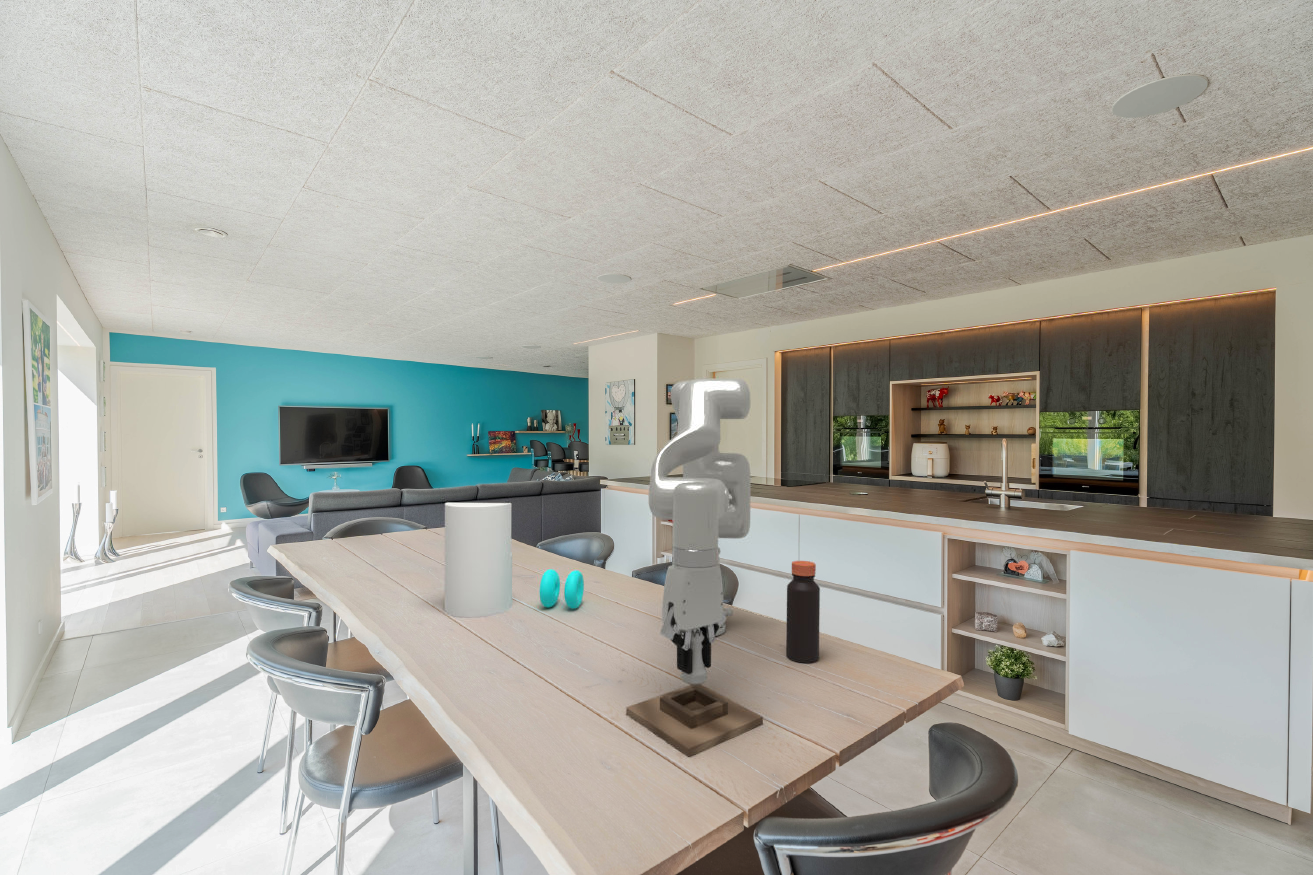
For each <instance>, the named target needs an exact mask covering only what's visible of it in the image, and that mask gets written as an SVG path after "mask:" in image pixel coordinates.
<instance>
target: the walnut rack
mask: <svg viewBox="0 0 1313 875" xmlns="http://www.w3.org/2000/svg"><path fill="white" fill-rule="evenodd" d="M625 712H626V714H625V715H626V716H628V717H629V718H631V719H632V720H633V721H635V722H637V723H638V724H639V725H641V726H643V727H644V728H646V729H647V730H648V731H650V732H651V733H653V734H655V735H656V736H657V737H659V738H660V739H662V740H664V742H666V743H667V744H668V745H670V746H672V747H673V748H674V749H676V750H678V751H679V752H681V753H682V754H684V755H685V756H686V757H688V758H690V757H691V756H694V755H696V754H699V753H701V752H703V751H706V750H708V749H710V748H712V747H715V746H717V745H719V744H721V743H724V742H726V741H728V740H731V739H732V738H735V737H736V736H739V735H742V734H744V733H746V732H748V731H750V730H752V729H756V728H758V727H759V726H762V725H763V724H764V717H763V716H762V715H761V714H758V713H757V712H755V711H753V710H751V709H748V708H747V707H745V706H743V705H741V704H739V703H737V702H735V701H734V700H731V698H727V697H726V696H724V695H722V694H720V693H718V692H716V691H714V690H712V689H710V688H708V687H706V686H705V685H703V684H697V685H693V684H688V685H687V686H683V687H681V688H678V689H674V690H672V691H669V692H667V693H663V694H661V695H658V696H655V697H652V698H649V699H646V700H644V701H641V702H637V703H635V704H632V705H630V706H626V711H625Z"/></svg>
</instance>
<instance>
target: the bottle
mask: <svg viewBox="0 0 1313 875" xmlns="http://www.w3.org/2000/svg"><path fill="white" fill-rule="evenodd" d="M816 570H817V569H816V563H815V562H813V561H809V560H795V561H792V562H791V575H792V580H791V581H790V582H789V583H787V585H786V637H785V638H786V639H785V640H786V643H785V644H786V645H785V647H786V648H785V649H786V651H785V652H786V655H785V656H786V657H787V658H788V659H790V660H791V661H793V662H797V663H799V664H800V663H802V664H813V663H815V662H817V661H818V660H819V659H820V611H821V610H820V609H821V608H820V607H821V606H820V604H821V603H820V601H821V598H820V597H821V596H820V595H821V593H820V592H821V589H820V588H821V587H820V586H819V585H818V584H817V583H816V581H815V577H816V572H817V571H816Z"/></svg>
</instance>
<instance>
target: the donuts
mask: <svg viewBox="0 0 1313 875" xmlns="http://www.w3.org/2000/svg"><path fill="white" fill-rule="evenodd" d="M584 582H585V581H584V576H583V573H582V572H581V571H579V570H576V569H575V570H572V571H571V572H570V573H568V574H567V577H566V579H565V583H564V591H563V593H564V595H563V596H564V601H565V604H566V605H567V607H568V608H570V609H572V610H575V609H578V607H580V606H581V604H582V601H583V597H584V596H583V595H584V591H585V584H584ZM560 591H561V580H560V576H559V573H558V572H557V571H556V570H555V569H552V568H550V569H547V570H545V571H544V573H543V574H542V576H541V579H540V584H539V601H540V603H541V605H542V606H543V607H545V608H552V607H553V606H554V605H555V604H556V603H557V602H558V599H559V596H560V593H561V592H560Z"/></svg>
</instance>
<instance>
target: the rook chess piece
mask: <svg viewBox="0 0 1313 875" xmlns="http://www.w3.org/2000/svg"><path fill="white" fill-rule="evenodd" d="M703 639H704V636H703V635H702V631H701V630H700V632H699V629H696V632H694V629H693V630H692V631H691V640H690V647H689V648H690V649H692V651H693V661H692V673H691V674H687V673H685V672H683V671H681V670H680V672H681V675H680V678H681V680H682V682H684V683H685V684H688V685H692V684H693V685H697V684H701V685H703V684H704V683H705V682H706V681H707V680H708V675H707V674H708V670H707V669H708V668H706V667H704V665H705V664H704V663H703V660H702V648H703V646H702V644H701V642H702V641H703Z"/></svg>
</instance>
